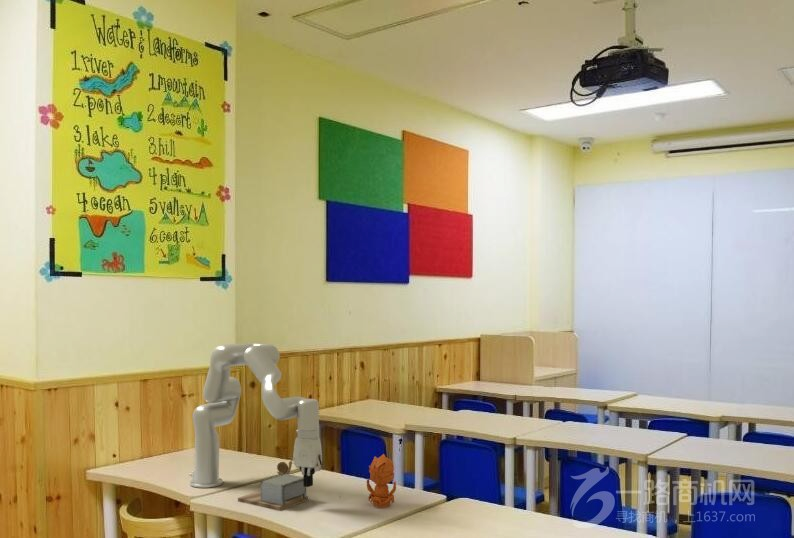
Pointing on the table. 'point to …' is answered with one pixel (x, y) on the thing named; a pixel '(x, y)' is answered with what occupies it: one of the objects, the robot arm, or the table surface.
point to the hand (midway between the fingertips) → (308, 485)
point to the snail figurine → (284, 467)
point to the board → (256, 500)
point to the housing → (282, 488)
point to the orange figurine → (381, 481)
